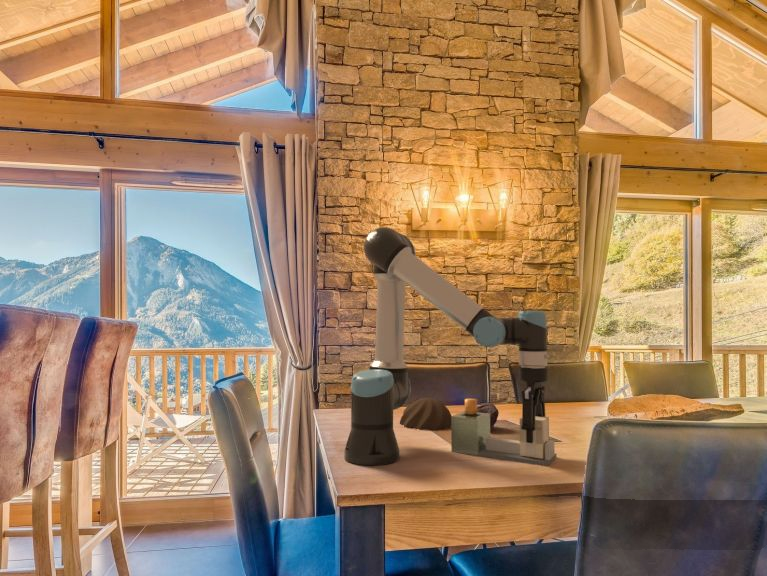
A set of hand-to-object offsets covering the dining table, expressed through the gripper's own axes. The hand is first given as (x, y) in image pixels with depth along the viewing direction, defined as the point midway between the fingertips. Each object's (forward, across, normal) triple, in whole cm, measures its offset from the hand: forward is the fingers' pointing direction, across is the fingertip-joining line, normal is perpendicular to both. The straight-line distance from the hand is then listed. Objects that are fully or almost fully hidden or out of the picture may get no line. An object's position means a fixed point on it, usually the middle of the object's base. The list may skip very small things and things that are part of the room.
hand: (534, 451), depth 136 cm
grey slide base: (+2, 0, +5) cm, 5 cm away
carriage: (+1, 0, 0) cm, 1 cm away
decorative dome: (+3, +25, +46) cm, 53 cm away
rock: (+2, +29, +25) cm, 39 cm away
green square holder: (+2, 0, +18) cm, 19 cm away
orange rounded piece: (-8, 0, +18) cm, 20 cm away
